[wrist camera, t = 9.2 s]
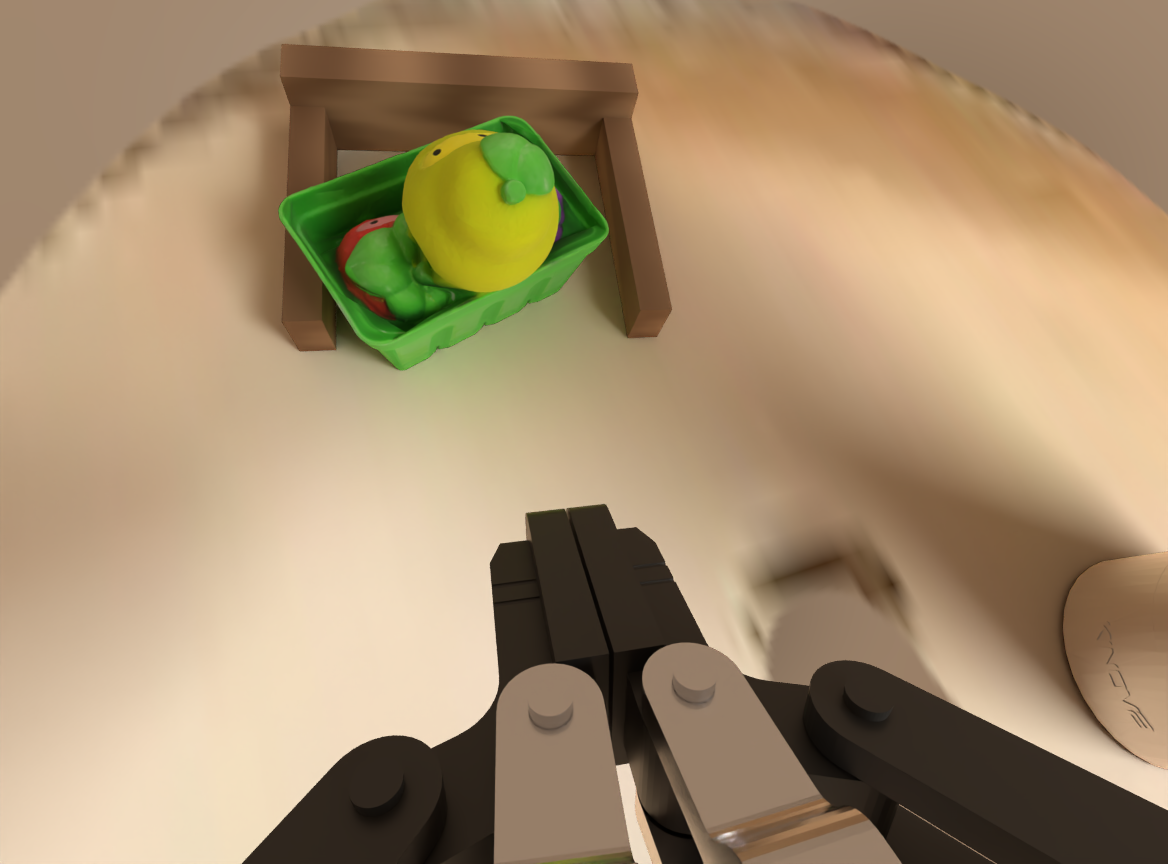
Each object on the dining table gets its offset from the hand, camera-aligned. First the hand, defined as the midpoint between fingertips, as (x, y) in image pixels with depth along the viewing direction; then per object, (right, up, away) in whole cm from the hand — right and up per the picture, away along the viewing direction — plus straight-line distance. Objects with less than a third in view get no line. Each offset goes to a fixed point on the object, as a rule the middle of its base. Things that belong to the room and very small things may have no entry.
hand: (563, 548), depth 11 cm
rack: (-5, +13, +19) cm, 23 cm away
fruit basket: (-5, +9, +17) cm, 20 cm away
